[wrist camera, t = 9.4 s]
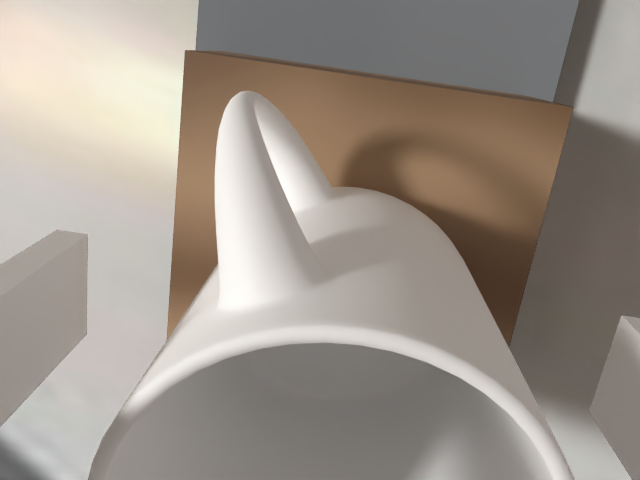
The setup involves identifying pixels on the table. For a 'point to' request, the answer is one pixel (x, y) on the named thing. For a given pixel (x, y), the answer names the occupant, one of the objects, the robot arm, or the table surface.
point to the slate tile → (404, 38)
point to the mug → (326, 342)
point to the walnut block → (382, 161)
